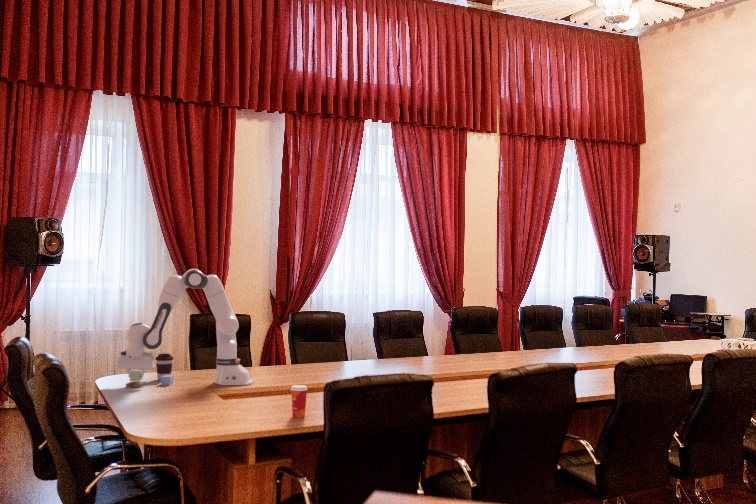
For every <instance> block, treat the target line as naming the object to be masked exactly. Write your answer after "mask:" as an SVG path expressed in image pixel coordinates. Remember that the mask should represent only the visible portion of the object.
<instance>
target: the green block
mask: <svg viewBox="0 0 756 504" xmlns="http://www.w3.org/2000/svg"><path fill="white" fill-rule="evenodd" d="M142 372H143V371H142V369H132V370H130V377H129V381H130V382H131V381H142V380H143V377H140V374H142Z"/></svg>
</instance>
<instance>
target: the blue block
mask: <svg viewBox="0 0 756 504" xmlns="http://www.w3.org/2000/svg"><path fill="white" fill-rule="evenodd" d="M173 384H174V375H172V374H171V375H164V376H162V377H161V381H160V385H161V386H162V385H168V386H169V387H170V386H172V385H173ZM168 386H167V387H168Z"/></svg>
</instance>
